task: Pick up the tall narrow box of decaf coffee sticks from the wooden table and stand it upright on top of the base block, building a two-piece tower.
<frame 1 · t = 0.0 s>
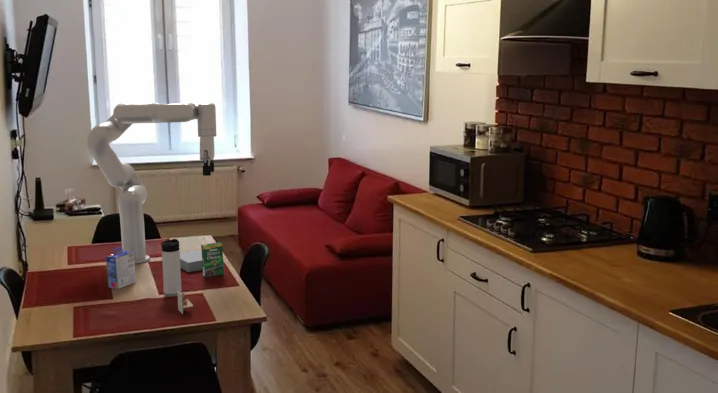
hand: (208, 173, 304), 37 cm above the table, tool pointing down, fingers open, 9 cm apart
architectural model: (183, 313, 248), on the table
ink cartridge box: (122, 285, 277), on the table
base block: (192, 265, 302), on the table
travel mug: (173, 294, 266), on the table
coffee box: (213, 276, 289), on the table
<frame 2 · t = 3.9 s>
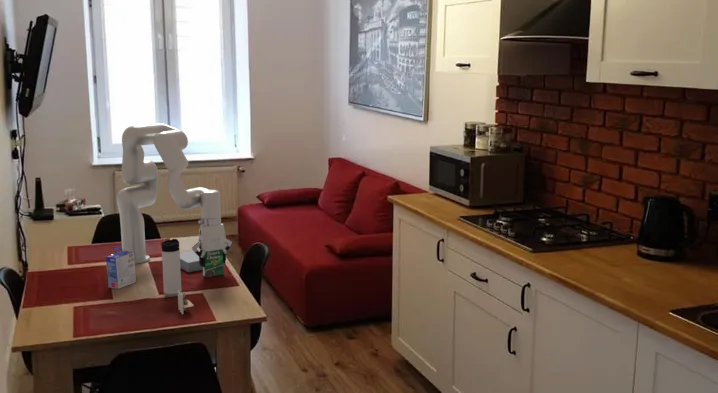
hand: (212, 264, 288), 5 cm above the table, tool pointing down, fingers closed on coffee box, 8 cm apart
coffee box: (213, 276, 289), on the table, touching gripper
everything else where it was.
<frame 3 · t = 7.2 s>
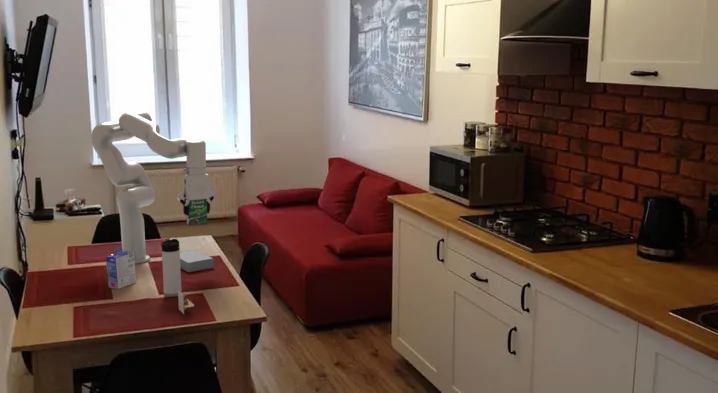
hand: (196, 213, 293), 23 cm above the table, tool pointing down, fingers closed on coffee box, 8 cm apart
coffee box: (197, 225, 294), point 18 cm above the table, touching gripper
everything else where it was.
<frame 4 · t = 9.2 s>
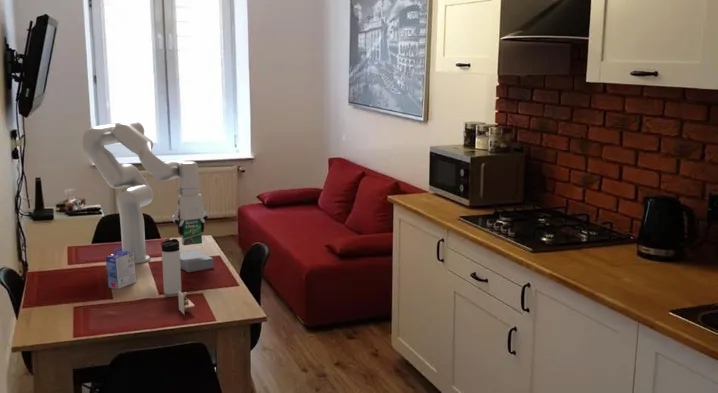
hand: (191, 233, 300), 14 cm above the table, tool pointing down, fingers closed on coffee box, 8 cm apart
coffee box: (191, 244, 301), point 9 cm above the table, touching gripper
everything else where it was.
when the fingers open (10 cm above the table, at t = 10.6 s): coffee box drops 1 cm, resting on base block.
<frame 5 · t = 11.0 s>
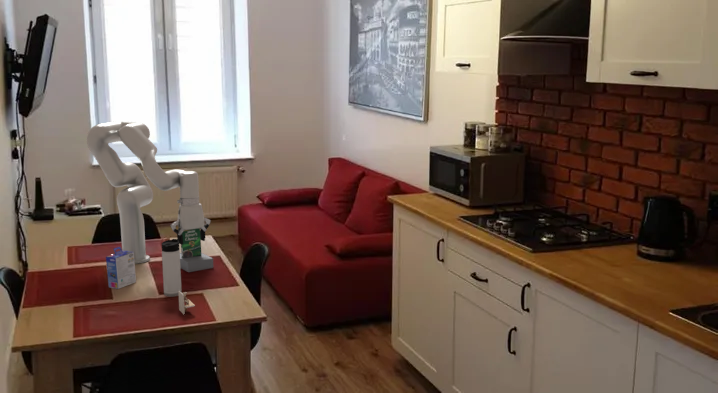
hand: (191, 242, 300), 10 cm above the table, tool pointing down, fingers open, 9 cm apart
coffee box: (191, 256, 301), point 4 cm above the table, touching base block
everything else where it was.
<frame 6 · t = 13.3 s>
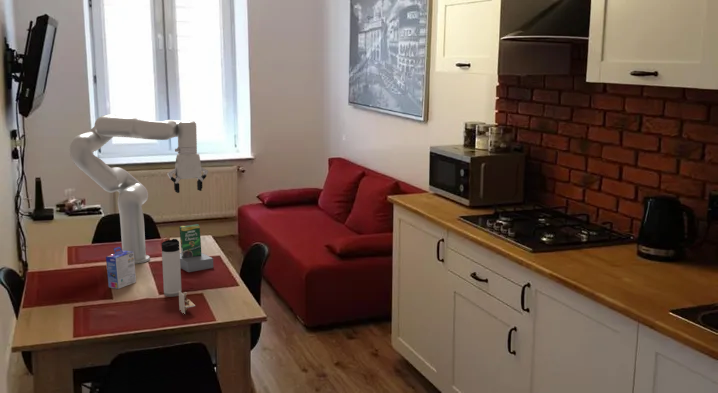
hand: (188, 191, 304), 30 cm above the table, tool pointing down, fingers open, 9 cm apart
nothing on the table moved.
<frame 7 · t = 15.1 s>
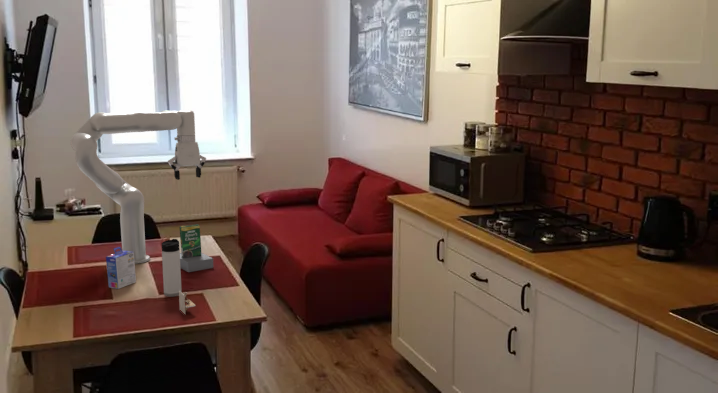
hand: (188, 178, 317), 33 cm above the table, tool pointing down, fingers open, 9 cm apart
nothing on the table moved.
at the end: coffee box inside the target area on the base block (0.4 cm from its centre), point 3.8 cm above the base block's base; coffee box tilted 0°; the gripper is holding nothing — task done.
